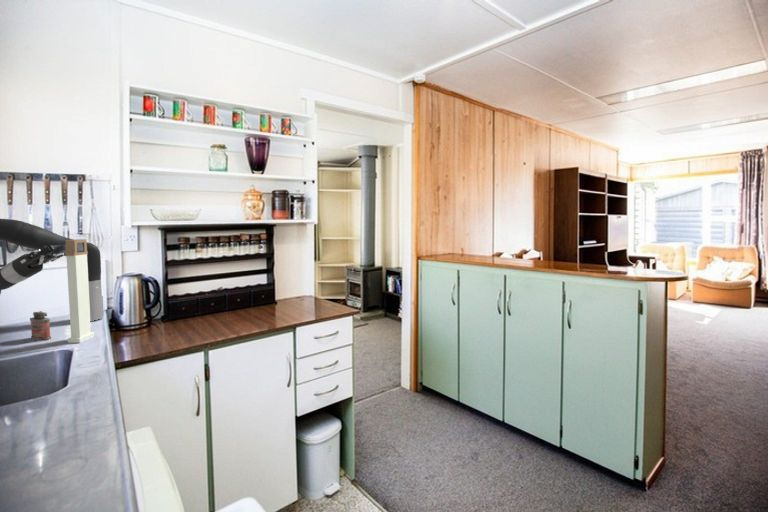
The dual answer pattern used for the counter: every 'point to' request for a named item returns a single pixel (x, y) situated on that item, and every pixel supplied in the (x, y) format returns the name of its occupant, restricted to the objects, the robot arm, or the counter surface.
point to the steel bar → (64, 248)
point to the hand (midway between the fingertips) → (61, 246)
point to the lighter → (40, 326)
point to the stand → (78, 291)
